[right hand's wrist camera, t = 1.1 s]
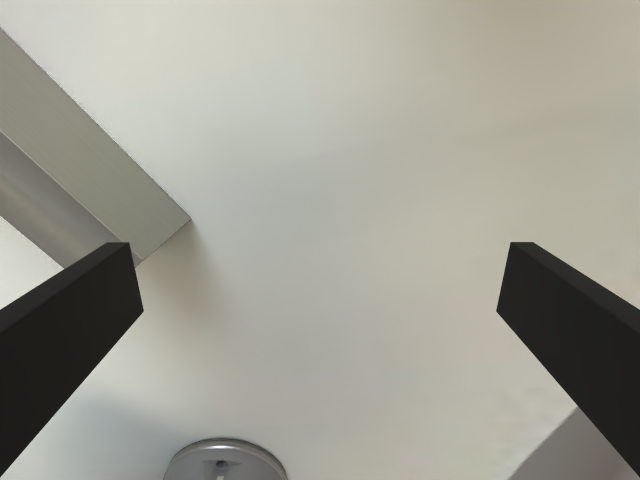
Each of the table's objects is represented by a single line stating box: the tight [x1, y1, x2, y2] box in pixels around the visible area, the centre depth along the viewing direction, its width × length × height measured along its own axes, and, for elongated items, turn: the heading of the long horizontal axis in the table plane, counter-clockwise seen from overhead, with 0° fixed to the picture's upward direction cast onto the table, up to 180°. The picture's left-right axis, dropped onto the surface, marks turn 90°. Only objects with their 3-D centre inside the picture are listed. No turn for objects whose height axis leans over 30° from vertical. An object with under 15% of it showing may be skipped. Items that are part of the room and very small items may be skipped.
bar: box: [0, 28, 191, 269], centre depth 25 cm, size 26×5×9 cm, turn 40°
